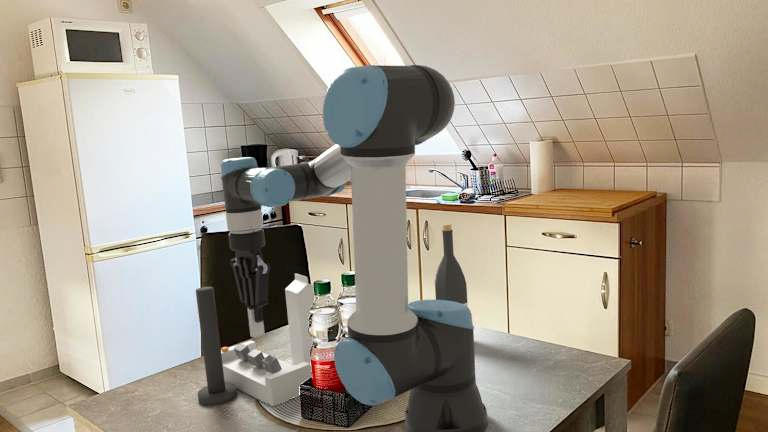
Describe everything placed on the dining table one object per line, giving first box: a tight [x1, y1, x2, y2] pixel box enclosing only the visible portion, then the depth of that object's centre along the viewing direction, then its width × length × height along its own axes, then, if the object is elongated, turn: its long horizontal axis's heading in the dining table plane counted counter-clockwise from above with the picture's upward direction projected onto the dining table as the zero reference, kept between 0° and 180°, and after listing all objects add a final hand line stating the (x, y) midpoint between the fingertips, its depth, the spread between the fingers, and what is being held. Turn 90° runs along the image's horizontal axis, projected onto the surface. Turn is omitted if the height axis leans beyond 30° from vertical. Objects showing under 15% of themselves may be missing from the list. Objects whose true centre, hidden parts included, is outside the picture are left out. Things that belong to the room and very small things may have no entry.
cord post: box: [195, 286, 238, 407], centre depth 136 cm, size 8×8×24 cm
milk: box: [284, 273, 314, 367], centre depth 150 cm, size 6×6×22 cm
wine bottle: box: [434, 223, 469, 308], centre depth 156 cm, size 8×8×30 cm
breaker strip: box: [221, 340, 312, 407], centre depth 142 cm, size 24×10×7 cm, turn 43°
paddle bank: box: [234, 342, 282, 374], centre depth 141 cm, size 18×2×4 cm, turn 43°
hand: (257, 335), depth 141 cm, fingers closed
